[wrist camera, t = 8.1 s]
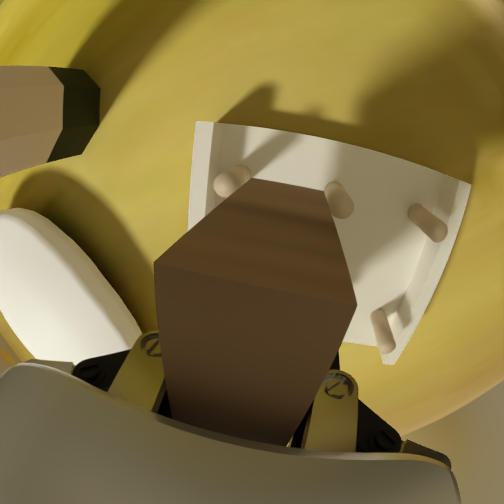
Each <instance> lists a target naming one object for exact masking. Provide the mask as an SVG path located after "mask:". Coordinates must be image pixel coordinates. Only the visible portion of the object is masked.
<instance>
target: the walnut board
mask: <svg viewBox="0 0 504 504" xmlns="http://www.w3.org/2000/svg"><path fill="white" fill-rule="evenodd" d="M154 281H155V296H156V309H157V320H158V330H159V339H160V347H161V355H162V362H163V369H164V376H165V382H166V388H167V394H168V399H169V405H170V410H171V415H172V419H173V420H176V421H179V422H182V423H185V424H188V425H192V426H195V427H198V428H202V429H205V430H209V431H212V432H216V433H220V434H224V435H228V436H232V437H236V438H241V439H246V440H250V441H256V442H261V443H266V444H272V445H278V446H285V447H286V446H287V444H288V443H289V441H290V439H291V438H292V436H293V435H294V433H295V431H296V430H297V428H298V426H299V425H300V423H301V421H302V419H303V418H304V416H305V414H306V412H307V411H308V409H309V407H310V405H311V404H312V402H313V400H314V398H315V396H316V394H317V392H318V391H319V389H320V387H321V385H322V383H323V381H324V379H325V377H326V375H327V373H328V371H329V369H330V367H331V365H332V363H333V361H334V359H335V356H336V354H337V352H338V350H339V348H340V346H341V343H342V341H343V339H344V337H345V334H346V332H347V330H348V327H349V325H350V323H351V320H352V318H353V316H354V313H355V311H356V308H357V306H358V305H357V301H356V296H355V293H354V289H353V285H352V281H351V277H350V274H349V270H348V266H347V263H346V259H345V256H344V252H343V249H342V246H341V242H340V239H339V236H338V232H337V229H336V226H335V223H334V220H333V217H332V214H331V211H330V208H329V205H328V202H327V199H326V196H325V193H324V191H321V190H316V189H312V188H307V187H302V186H296V185H291V184H286V183H280V182H275V181H269V180H263V179H257V178H251V179H250V180H248V181H247V182H246V183H245V184H243V185H242V186H241V187H240V188H239V189H237V190H236V191H235V192H234V193H232V194H231V195H230V196H229V197H228V198H226V199H225V200H224V201H223V202H222V203H220V204H219V205H218V206H217V207H216V208H214V209H213V210H212V211H211V212H210V213H209V214H207V215H206V216H205V217H204V218H203V219H202V220H200V221H199V222H198V223H197V224H196V225H195V226H193V227H192V228H191V229H190V230H189V231H188V232H187V233H186V234H184V235H183V236H182V237H181V238H180V239H179V240H178V241H177V242H175V243H174V244H173V245H172V246H171V247H170V248H169V249H168V250H167V251H165V252H164V253H163V254H162V255H161V256H160V257H159V258H158V259H157V260H156V261H155V262H154Z"/></svg>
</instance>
